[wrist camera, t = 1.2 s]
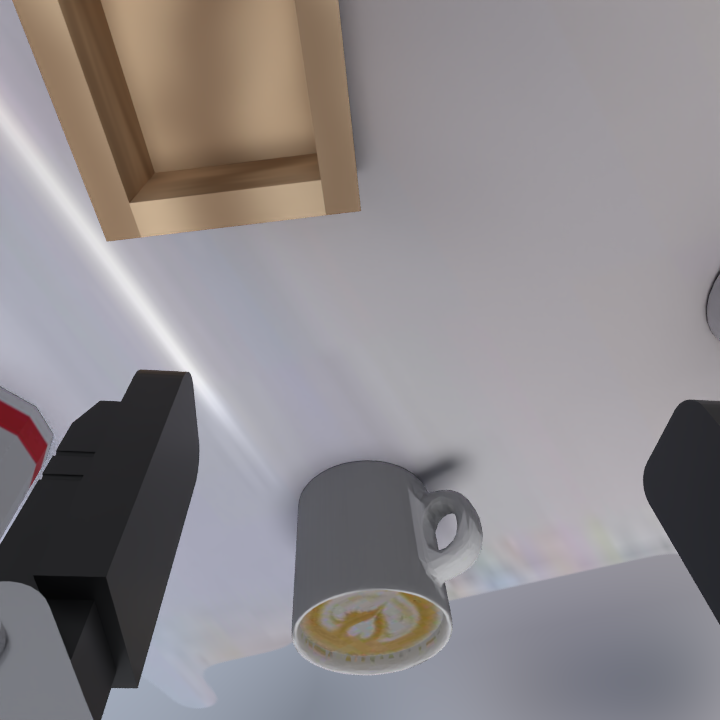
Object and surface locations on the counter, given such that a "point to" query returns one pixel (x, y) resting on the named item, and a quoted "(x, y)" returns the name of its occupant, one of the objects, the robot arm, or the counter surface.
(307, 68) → the wooden box
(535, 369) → the counter surface
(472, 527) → the coffee mug
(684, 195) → the counter surface
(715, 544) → the robot arm
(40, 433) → the spray bottle
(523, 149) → the counter surface
